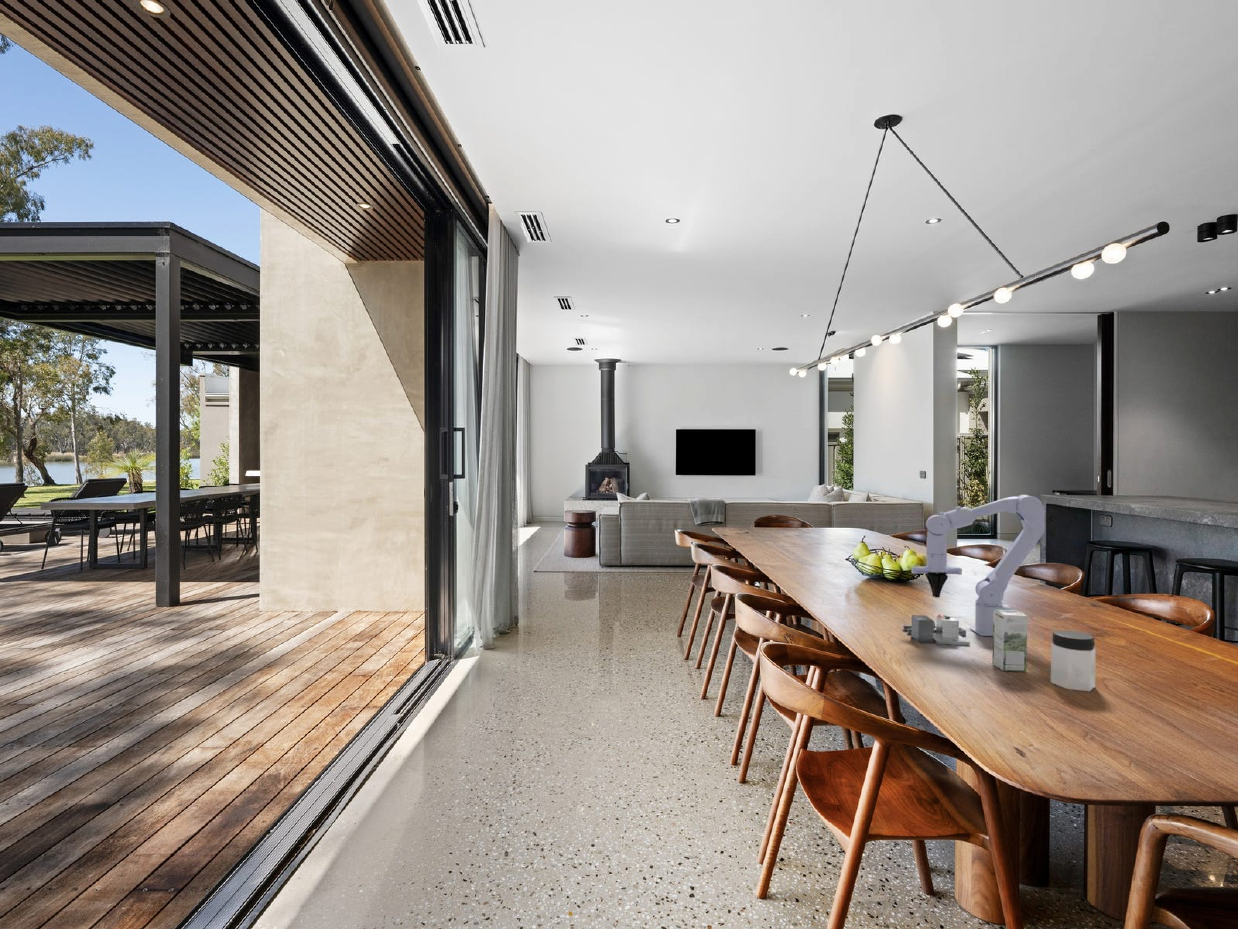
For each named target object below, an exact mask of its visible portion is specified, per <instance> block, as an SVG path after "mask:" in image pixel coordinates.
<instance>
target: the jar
mask: <svg viewBox="0 0 1238 929" xmlns="http://www.w3.org/2000/svg"><path fill="white" fill-rule="evenodd" d="M1095 644H1096V642H1095V637H1094V636H1093V635H1092V634H1088V633H1087V632H1081V631H1076V630H1066V629H1059V630H1058V629H1057V630H1054V631H1052V643H1051V645H1050V683H1051V684H1053V685H1055V684H1056V686H1059V687H1061V688H1062V689H1066V690H1069V691H1070V690H1071V691H1080V692H1091V691H1092V690H1093V689H1094V688H1096V647H1095Z"/></svg>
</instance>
